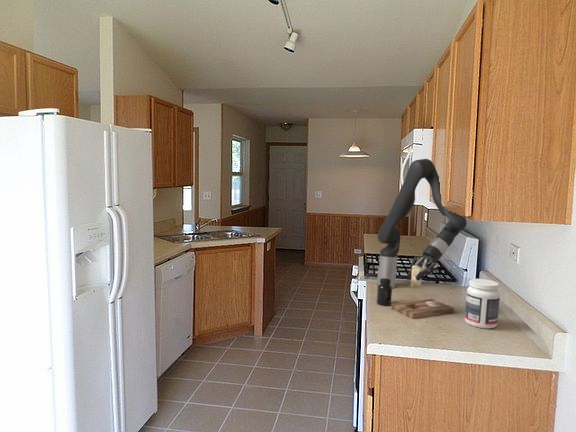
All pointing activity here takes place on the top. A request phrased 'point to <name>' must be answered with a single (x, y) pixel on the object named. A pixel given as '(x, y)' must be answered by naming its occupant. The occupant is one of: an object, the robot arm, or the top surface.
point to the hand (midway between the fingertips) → (413, 277)
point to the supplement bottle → (384, 292)
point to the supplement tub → (482, 303)
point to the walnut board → (422, 308)
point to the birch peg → (414, 273)
